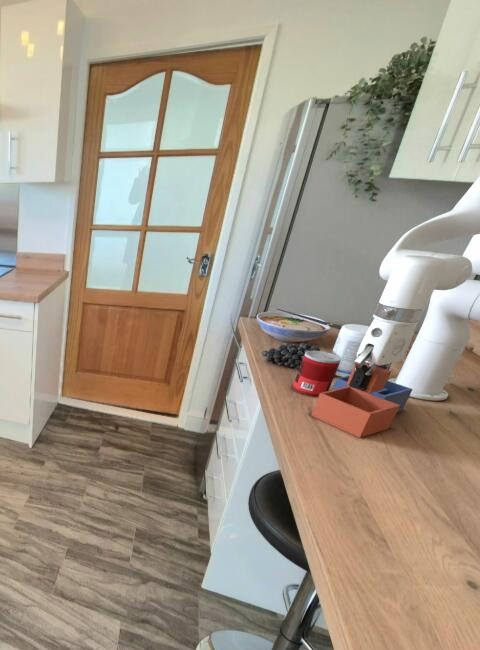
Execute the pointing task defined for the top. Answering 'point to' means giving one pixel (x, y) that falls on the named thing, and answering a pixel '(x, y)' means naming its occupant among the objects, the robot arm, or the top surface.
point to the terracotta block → (374, 379)
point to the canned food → (316, 372)
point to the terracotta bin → (355, 411)
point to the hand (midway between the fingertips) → (364, 385)
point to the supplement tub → (348, 347)
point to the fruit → (289, 354)
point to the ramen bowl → (293, 326)
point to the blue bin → (395, 395)
